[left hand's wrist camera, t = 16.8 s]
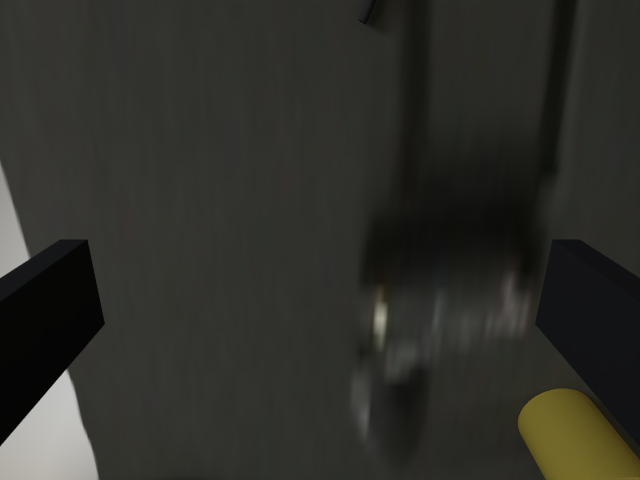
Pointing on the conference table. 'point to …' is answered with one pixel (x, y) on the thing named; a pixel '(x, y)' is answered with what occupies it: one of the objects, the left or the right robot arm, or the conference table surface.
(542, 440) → the canister
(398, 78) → the conference table surface
